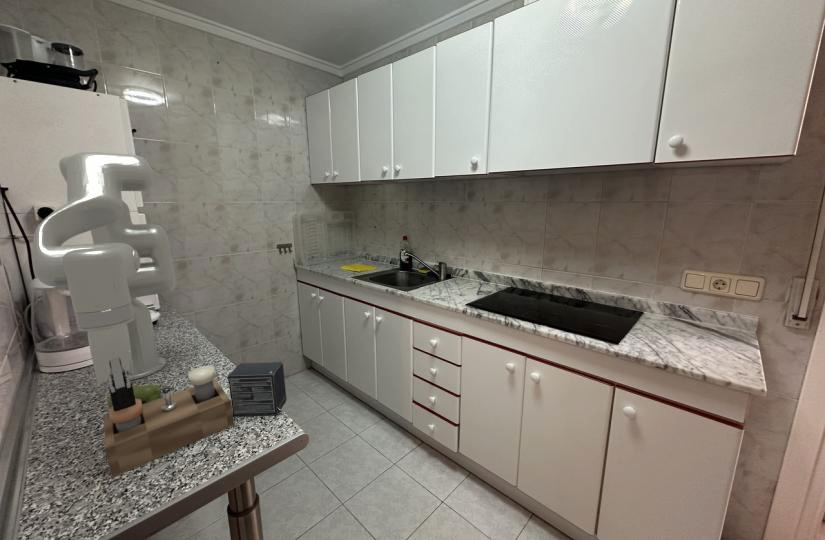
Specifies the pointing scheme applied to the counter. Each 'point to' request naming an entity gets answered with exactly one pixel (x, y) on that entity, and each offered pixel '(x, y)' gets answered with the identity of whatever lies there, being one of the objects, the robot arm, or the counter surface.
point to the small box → (257, 389)
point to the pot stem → (168, 400)
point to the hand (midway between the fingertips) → (125, 406)
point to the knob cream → (203, 382)
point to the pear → (143, 393)
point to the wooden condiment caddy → (166, 428)
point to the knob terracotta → (127, 416)
